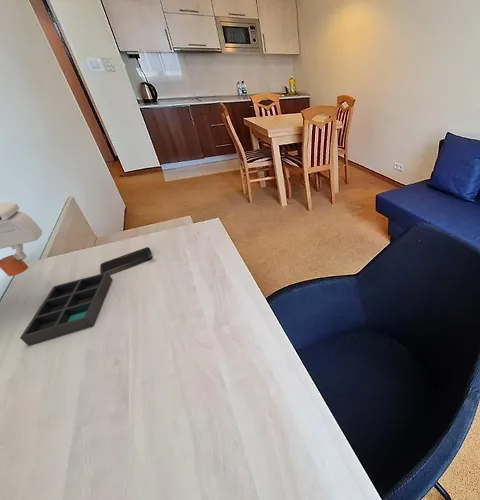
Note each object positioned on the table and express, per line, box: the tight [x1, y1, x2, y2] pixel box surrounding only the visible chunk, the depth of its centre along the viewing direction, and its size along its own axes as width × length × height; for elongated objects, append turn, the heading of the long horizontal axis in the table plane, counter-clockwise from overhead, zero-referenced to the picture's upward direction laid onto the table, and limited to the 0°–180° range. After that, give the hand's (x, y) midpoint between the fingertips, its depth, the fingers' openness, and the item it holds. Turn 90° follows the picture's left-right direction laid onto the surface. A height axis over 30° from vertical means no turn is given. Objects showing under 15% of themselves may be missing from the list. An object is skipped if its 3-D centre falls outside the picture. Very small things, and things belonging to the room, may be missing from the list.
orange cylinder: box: [0, 254, 29, 277], centre depth 82 cm, size 4×4×4 cm
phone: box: [99, 246, 153, 276], centre depth 103 cm, size 8×1×15 cm
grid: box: [19, 272, 114, 347], centre depth 85 cm, size 14×21×3 cm
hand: (10, 261), depth 81 cm, fingers closed on orange cylinder, 4 cm apart
